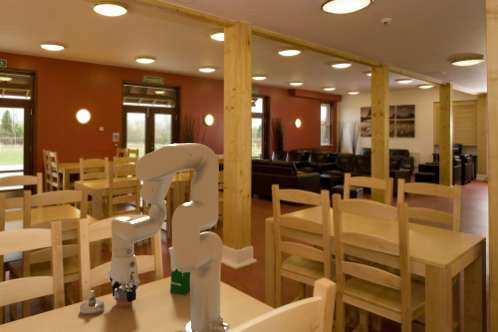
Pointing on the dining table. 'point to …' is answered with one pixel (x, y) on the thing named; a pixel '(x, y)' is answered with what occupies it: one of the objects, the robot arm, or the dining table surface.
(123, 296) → the grey short cylinder
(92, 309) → the hub
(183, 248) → the robot arm
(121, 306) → the stand
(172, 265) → the milk carton
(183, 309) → the dining table surface
